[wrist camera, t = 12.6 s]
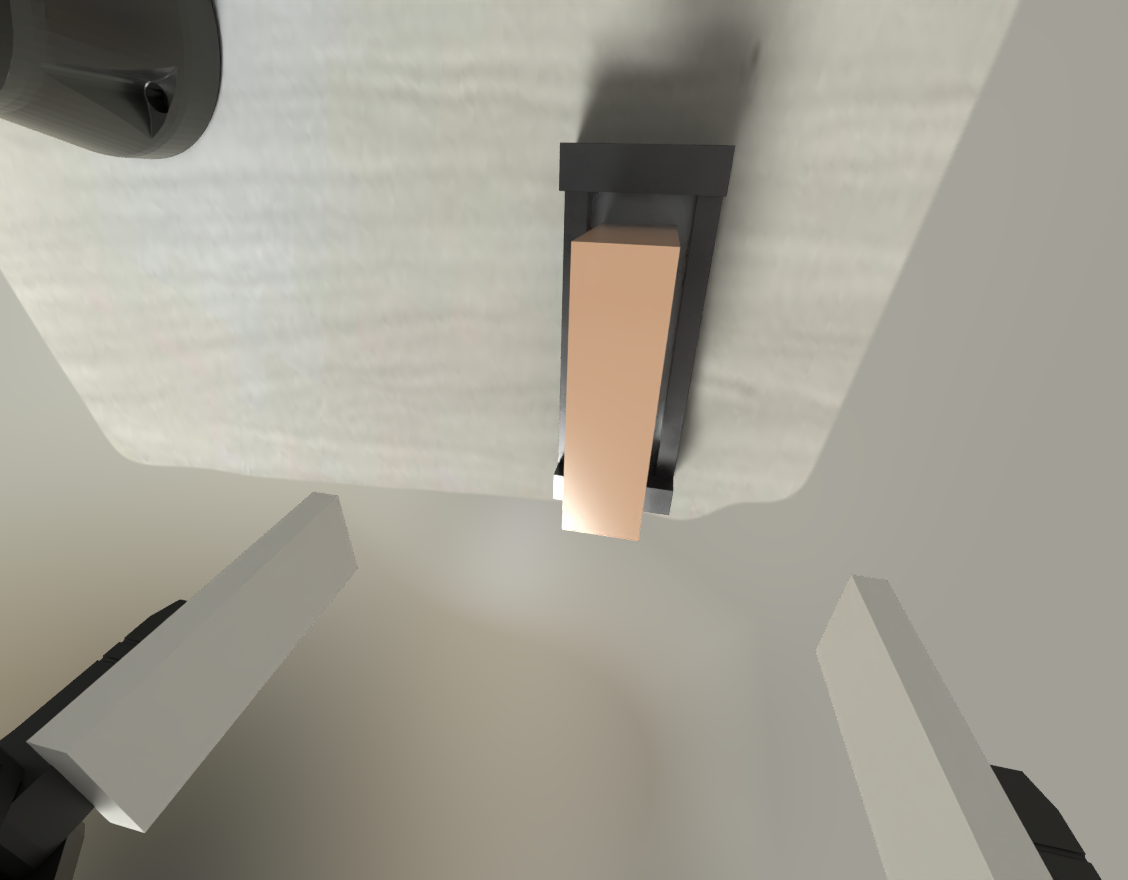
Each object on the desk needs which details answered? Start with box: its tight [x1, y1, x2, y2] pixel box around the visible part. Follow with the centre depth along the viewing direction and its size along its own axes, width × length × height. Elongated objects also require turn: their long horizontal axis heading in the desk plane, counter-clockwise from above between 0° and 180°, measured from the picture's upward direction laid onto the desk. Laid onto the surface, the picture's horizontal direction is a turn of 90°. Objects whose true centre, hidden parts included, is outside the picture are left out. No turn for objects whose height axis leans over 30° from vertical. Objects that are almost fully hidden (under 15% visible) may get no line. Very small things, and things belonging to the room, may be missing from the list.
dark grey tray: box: [553, 143, 735, 515], centre depth 28 cm, size 21×8×4 cm, turn 179°
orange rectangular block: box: [562, 222, 680, 541], centre depth 24 cm, size 14×4×10 cm, turn 179°
